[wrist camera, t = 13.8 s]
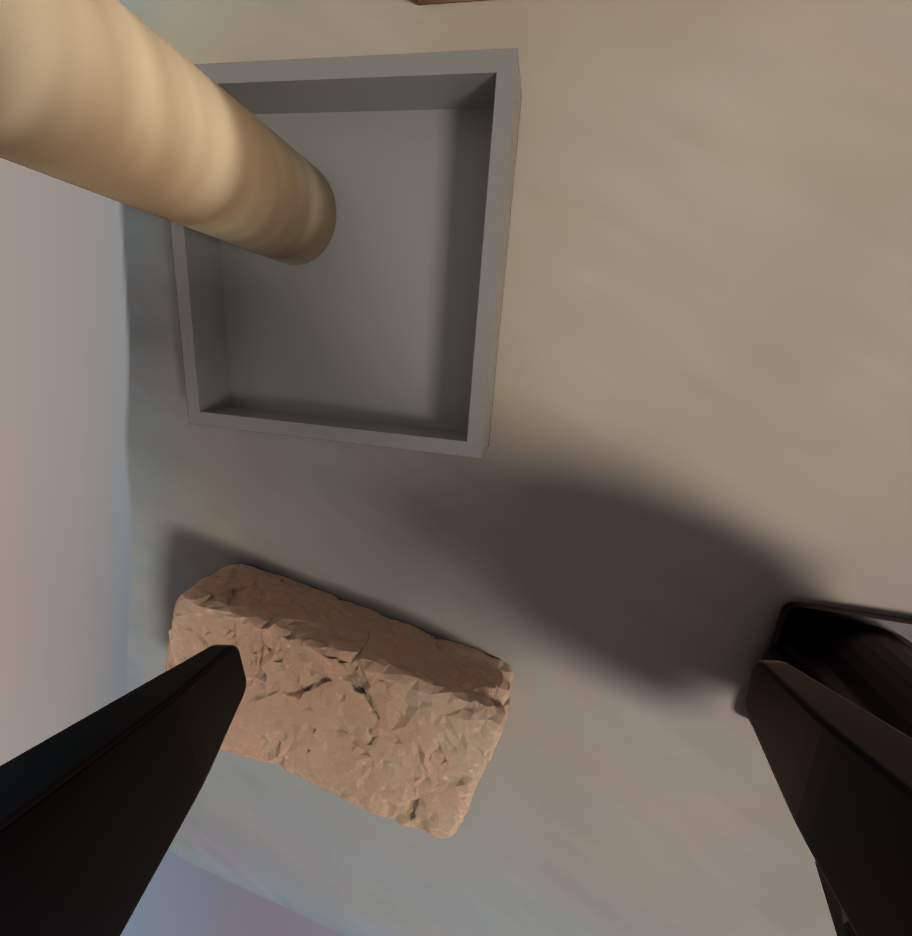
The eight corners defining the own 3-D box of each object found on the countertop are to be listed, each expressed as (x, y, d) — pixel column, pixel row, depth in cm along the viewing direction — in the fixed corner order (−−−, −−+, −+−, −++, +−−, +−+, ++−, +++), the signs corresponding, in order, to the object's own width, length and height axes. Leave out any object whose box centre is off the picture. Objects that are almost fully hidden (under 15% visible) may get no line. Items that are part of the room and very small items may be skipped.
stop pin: (312, 121, 17) (-350, -560, 4) (364, 240, 17) (-79, -53, 5) (222, 186, 18) (-482, -196, 6) (274, 294, 19) (-252, 166, 6)
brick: (519, 657, 22) (512, 733, 17) (473, 772, 24) (456, 866, 20) (237, 548, 24) (165, 591, 19) (220, 664, 26) (153, 727, 22)
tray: (521, 95, 16) (517, 48, 13) (488, 446, 19) (480, 458, 17) (207, 105, 18) (155, 66, 15) (228, 416, 21) (189, 423, 19)
